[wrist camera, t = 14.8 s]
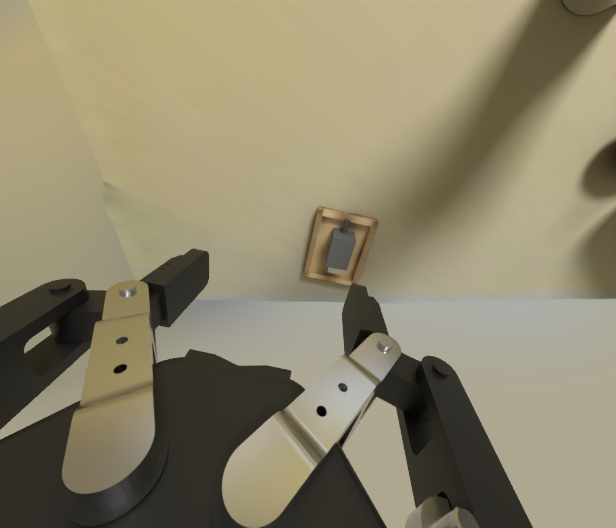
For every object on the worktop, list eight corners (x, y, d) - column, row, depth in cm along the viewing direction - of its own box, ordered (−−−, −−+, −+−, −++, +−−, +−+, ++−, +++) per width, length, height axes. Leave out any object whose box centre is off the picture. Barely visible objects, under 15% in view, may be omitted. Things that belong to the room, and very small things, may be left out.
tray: (376, 219, 43) (378, 222, 41) (354, 281, 49) (355, 286, 47) (318, 206, 43) (318, 209, 41) (304, 270, 49) (303, 275, 47)
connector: (357, 220, 42) (360, 228, 38) (342, 268, 47) (343, 280, 43) (336, 215, 42) (336, 223, 38) (323, 264, 47) (322, 276, 43)
